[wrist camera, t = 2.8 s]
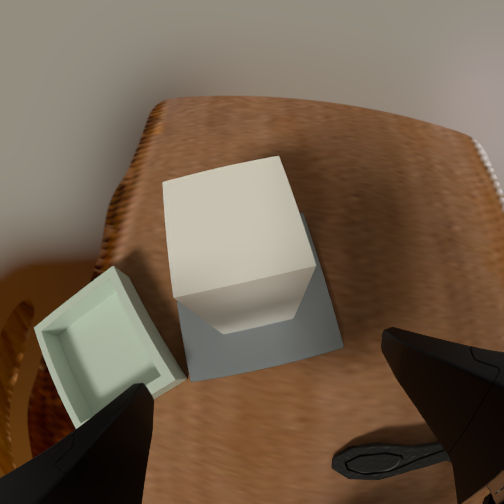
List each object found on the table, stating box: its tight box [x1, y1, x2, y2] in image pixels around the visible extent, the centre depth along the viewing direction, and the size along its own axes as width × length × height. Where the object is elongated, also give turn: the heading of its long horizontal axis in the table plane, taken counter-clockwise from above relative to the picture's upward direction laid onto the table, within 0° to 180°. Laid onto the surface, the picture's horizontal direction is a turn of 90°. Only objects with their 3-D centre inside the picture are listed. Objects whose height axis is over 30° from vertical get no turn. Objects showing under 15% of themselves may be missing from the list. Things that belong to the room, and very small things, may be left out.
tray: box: [34, 266, 187, 429], centre depth 21 cm, size 11×11×3 cm
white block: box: [163, 156, 316, 334], centre depth 17 cm, size 6×6×12 cm
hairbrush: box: [332, 442, 451, 480], centre depth 16 cm, size 8×4×25 cm
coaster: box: [177, 212, 344, 382], centre depth 23 cm, size 12×12×1 cm
